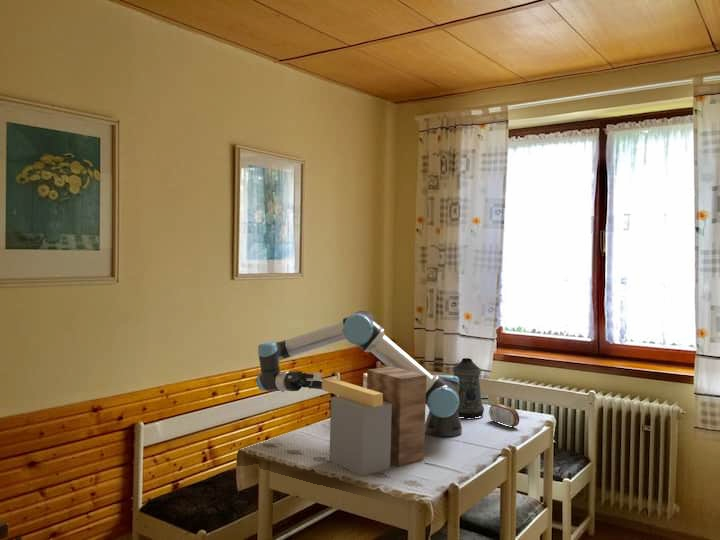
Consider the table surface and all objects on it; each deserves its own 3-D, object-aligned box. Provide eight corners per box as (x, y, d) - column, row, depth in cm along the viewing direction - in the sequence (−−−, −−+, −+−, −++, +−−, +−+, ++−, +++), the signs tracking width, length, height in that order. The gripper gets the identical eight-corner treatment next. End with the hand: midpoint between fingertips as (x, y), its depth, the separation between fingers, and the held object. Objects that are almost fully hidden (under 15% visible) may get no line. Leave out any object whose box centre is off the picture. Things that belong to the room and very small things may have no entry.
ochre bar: (321, 389, 225) (322, 378, 225) (330, 388, 227) (330, 377, 227) (373, 407, 202) (373, 395, 202) (382, 405, 205) (382, 393, 205)
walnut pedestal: (365, 452, 225) (367, 369, 223) (389, 446, 232) (392, 366, 231) (398, 466, 211) (401, 378, 210) (423, 459, 218) (426, 374, 217)
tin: (519, 429, 260) (520, 409, 259) (514, 430, 258) (515, 410, 257) (492, 420, 272) (493, 401, 272) (487, 421, 270) (488, 402, 270)
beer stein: (459, 420, 269) (461, 363, 268) (436, 409, 287) (438, 356, 286) (491, 417, 276) (493, 361, 275) (466, 407, 294) (468, 354, 293)
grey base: (329, 460, 214) (331, 397, 214) (356, 454, 222) (358, 393, 221) (362, 476, 200) (364, 408, 200) (389, 468, 208) (391, 403, 207)
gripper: (308, 397, 252) (350, 398, 239) (266, 383, 233) (309, 383, 221) (311, 379, 254) (352, 379, 242) (270, 364, 236) (312, 362, 224)
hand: (332, 381), depth 232 cm, fingers open, 13 cm apart
